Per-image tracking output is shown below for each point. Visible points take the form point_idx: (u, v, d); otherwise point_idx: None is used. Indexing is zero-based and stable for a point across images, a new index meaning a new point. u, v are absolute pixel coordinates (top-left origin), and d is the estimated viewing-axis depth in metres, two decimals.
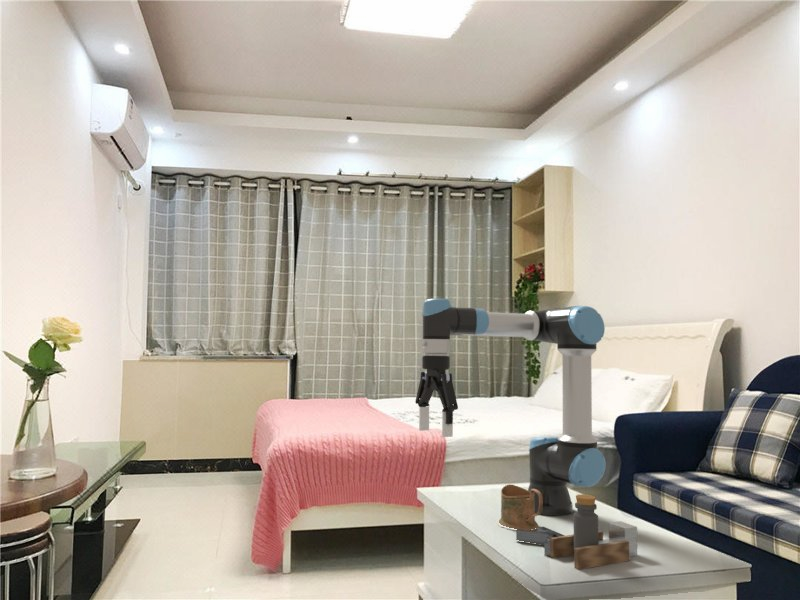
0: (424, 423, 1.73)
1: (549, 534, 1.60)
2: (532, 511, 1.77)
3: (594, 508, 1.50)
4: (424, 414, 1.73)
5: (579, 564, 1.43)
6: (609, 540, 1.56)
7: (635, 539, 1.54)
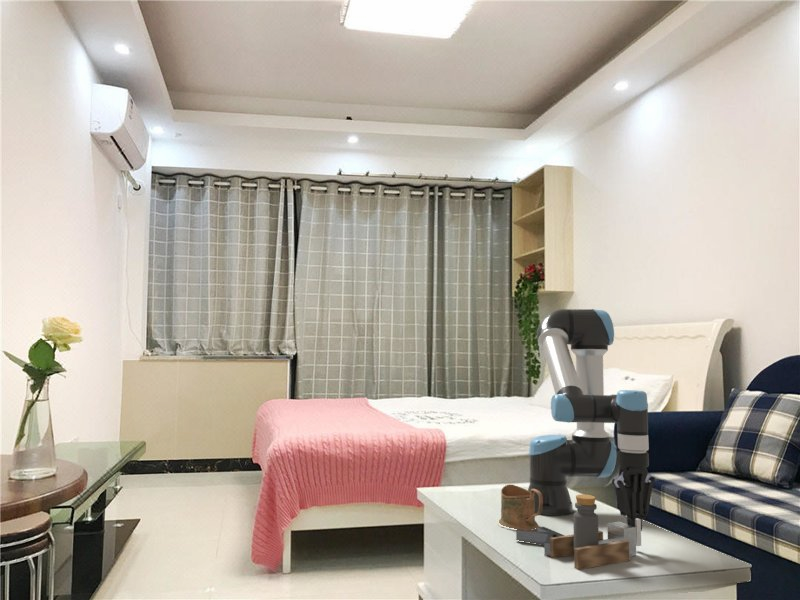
0: None
1: (549, 534, 1.60)
2: (532, 511, 1.77)
3: (594, 508, 1.50)
4: None
5: (579, 564, 1.43)
6: (608, 540, 1.56)
7: (634, 539, 1.54)
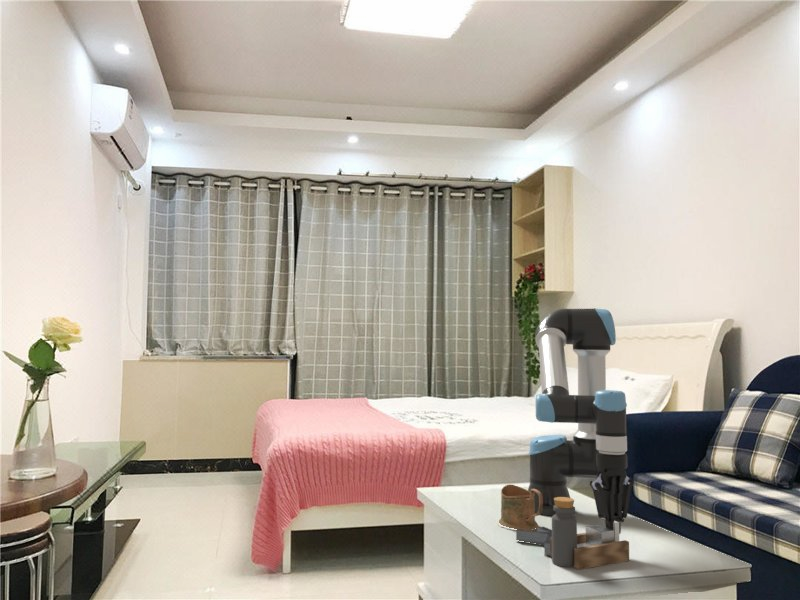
0: None
1: (549, 534, 1.60)
2: (532, 511, 1.77)
3: (571, 511, 1.46)
4: None
5: (579, 564, 1.43)
6: (586, 544, 1.53)
7: None
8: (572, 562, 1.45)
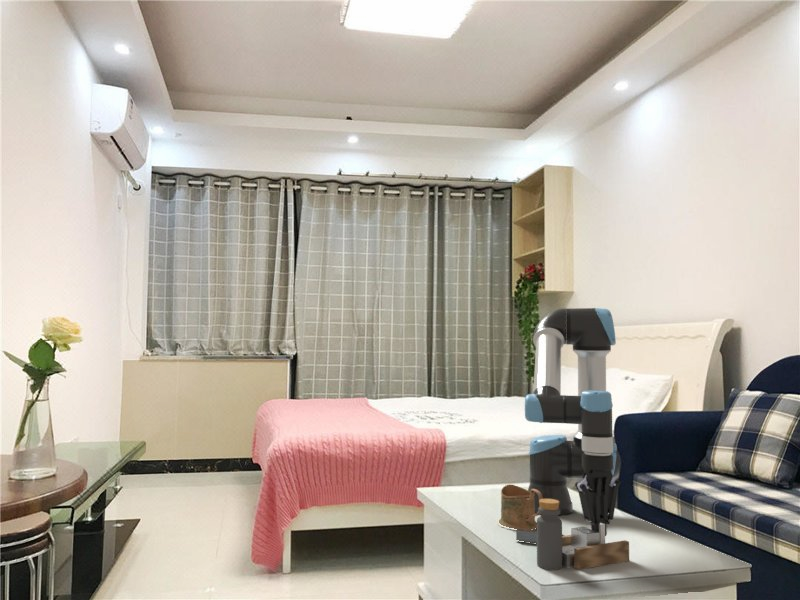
0: None
1: None
2: (532, 511, 1.77)
3: (557, 513, 1.44)
4: None
5: (579, 564, 1.43)
6: (571, 546, 1.51)
7: None
8: (557, 565, 1.43)
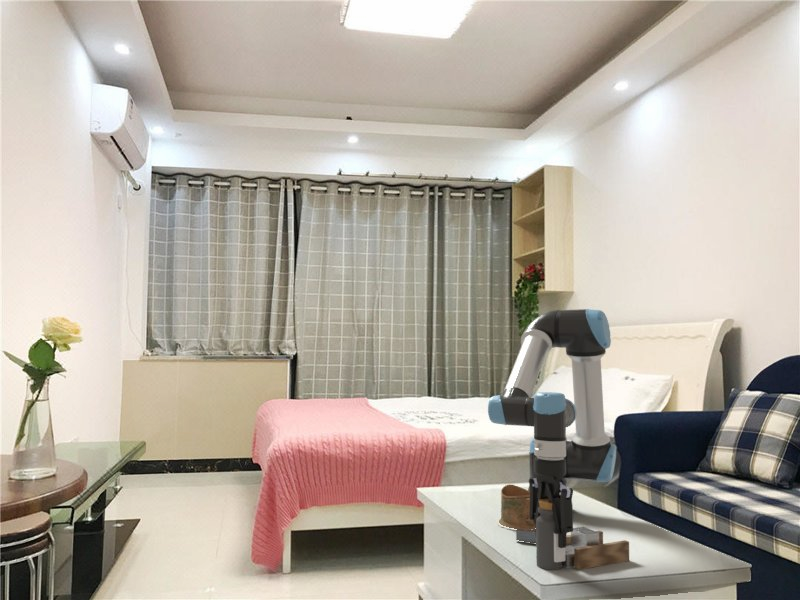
0: None
1: None
2: None
3: None
4: None
5: (579, 564, 1.43)
6: (571, 546, 1.51)
7: None
8: (556, 565, 1.43)
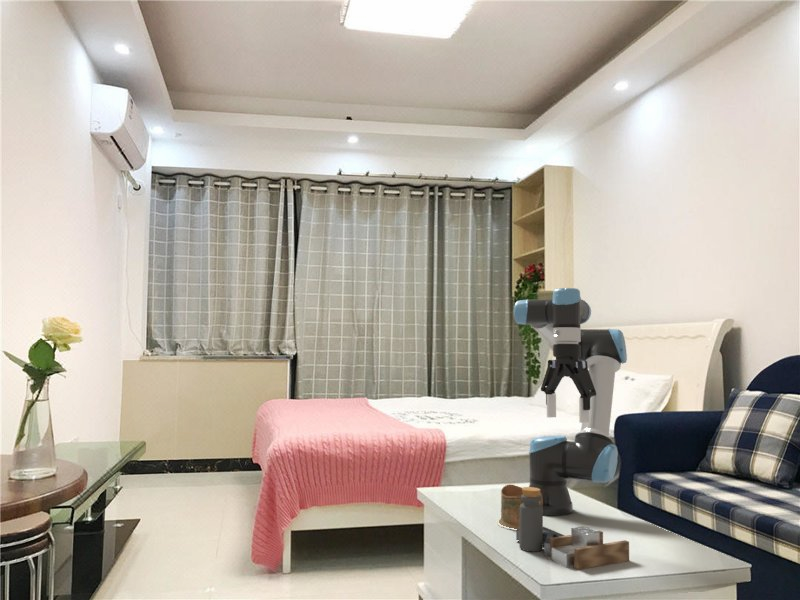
0: (552, 410, 1.77)
1: (549, 534, 1.60)
2: None
3: (538, 500, 1.57)
4: (551, 401, 1.77)
5: (579, 564, 1.43)
6: (571, 546, 1.51)
7: None
8: (537, 548, 1.56)
